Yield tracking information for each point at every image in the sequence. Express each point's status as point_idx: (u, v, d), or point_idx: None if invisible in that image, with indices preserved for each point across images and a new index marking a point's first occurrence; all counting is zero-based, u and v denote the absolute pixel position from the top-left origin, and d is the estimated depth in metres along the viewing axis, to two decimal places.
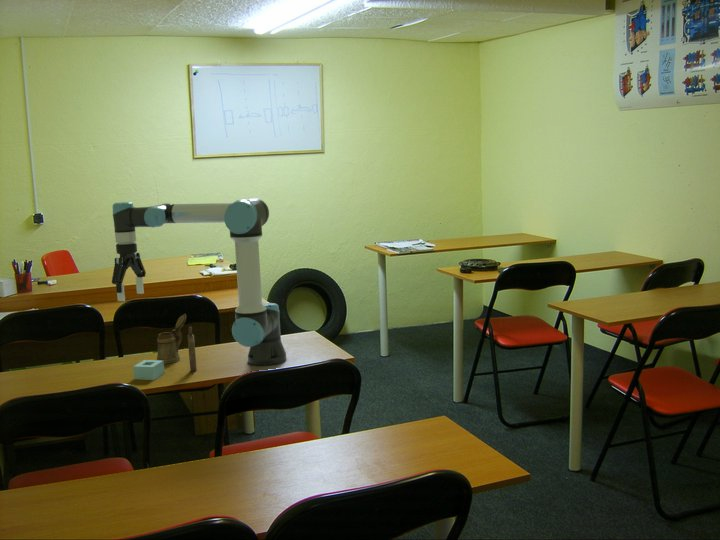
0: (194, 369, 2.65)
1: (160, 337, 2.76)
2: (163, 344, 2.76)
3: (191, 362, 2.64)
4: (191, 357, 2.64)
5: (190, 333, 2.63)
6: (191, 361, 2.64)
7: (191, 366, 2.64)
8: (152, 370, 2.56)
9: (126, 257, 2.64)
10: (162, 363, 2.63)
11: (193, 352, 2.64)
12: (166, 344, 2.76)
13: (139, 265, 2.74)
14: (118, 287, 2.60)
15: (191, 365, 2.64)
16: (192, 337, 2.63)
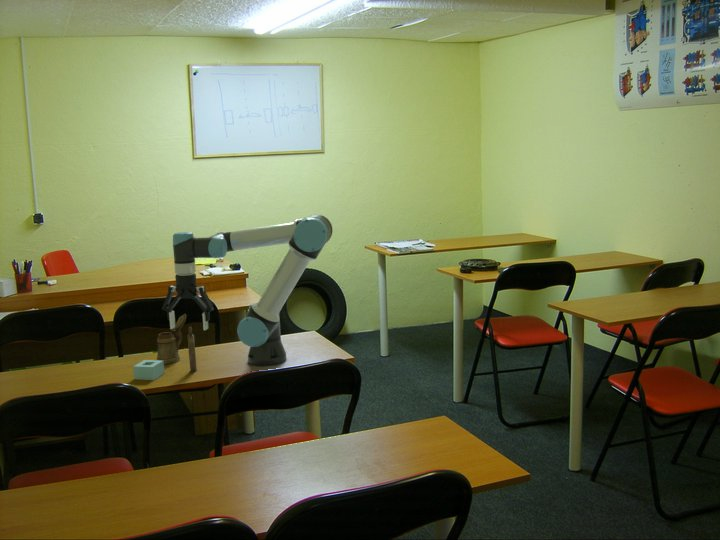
0: (194, 369, 2.65)
1: (160, 337, 2.76)
2: (163, 344, 2.76)
3: (191, 362, 2.64)
4: (191, 357, 2.64)
5: (190, 333, 2.63)
6: (191, 361, 2.64)
7: (191, 366, 2.64)
8: (152, 370, 2.56)
9: (179, 288, 2.60)
10: (162, 363, 2.63)
11: (193, 352, 2.64)
12: (166, 344, 2.76)
13: None
14: None
15: (191, 365, 2.64)
16: (192, 337, 2.63)
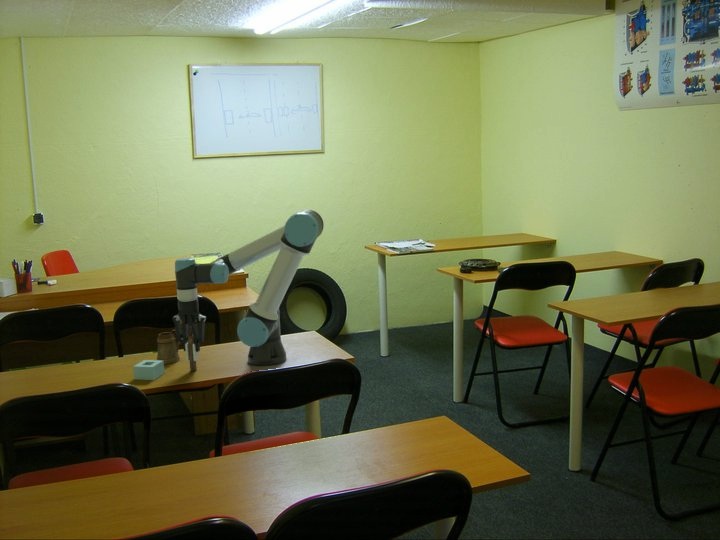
0: (194, 369, 2.65)
1: (160, 337, 2.76)
2: (163, 344, 2.76)
3: (191, 362, 2.64)
4: (191, 357, 2.64)
5: (190, 333, 2.63)
6: (191, 361, 2.64)
7: (191, 366, 2.64)
8: (152, 370, 2.56)
9: (180, 312, 2.62)
10: (162, 363, 2.63)
11: None
12: (166, 344, 2.76)
13: None
14: None
15: (191, 365, 2.64)
16: (192, 337, 2.63)
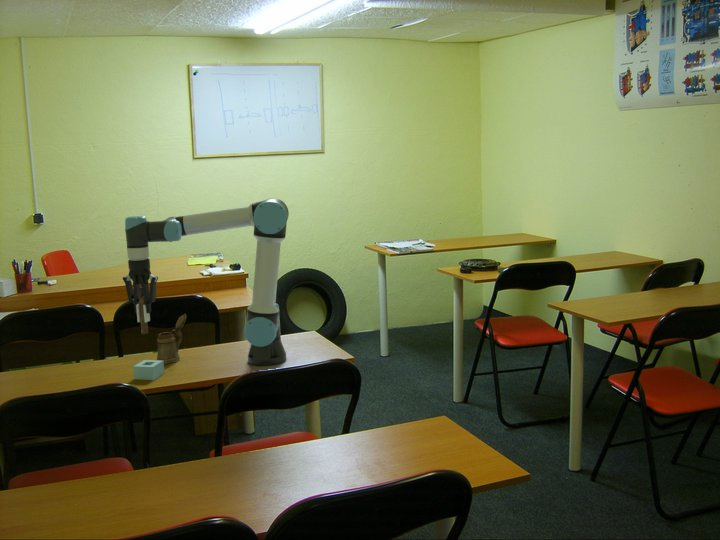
0: (145, 331, 2.57)
1: (160, 337, 2.76)
2: (163, 344, 2.76)
3: (142, 324, 2.57)
4: (142, 319, 2.56)
5: (141, 294, 2.55)
6: (142, 323, 2.57)
7: (142, 328, 2.57)
8: (152, 370, 2.56)
9: (131, 272, 2.54)
10: (162, 363, 2.63)
11: None
12: (166, 344, 2.76)
13: None
14: None
15: (142, 327, 2.57)
16: (143, 298, 2.55)
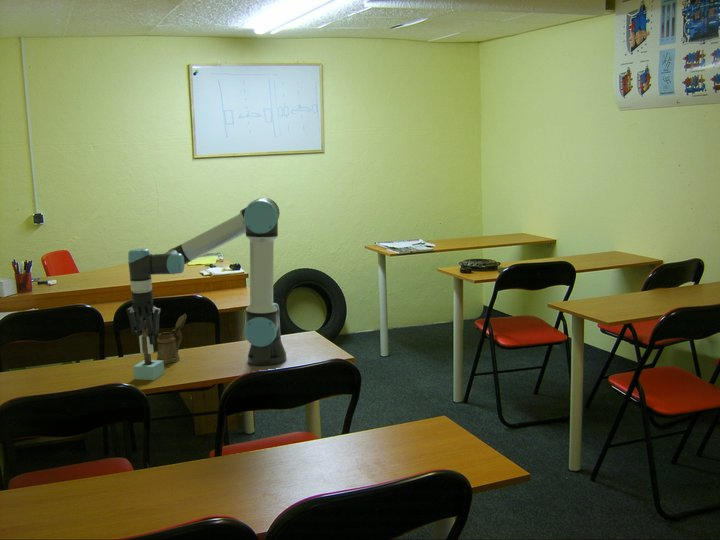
0: (149, 364, 2.59)
1: (160, 337, 2.76)
2: (163, 344, 2.76)
3: (145, 357, 2.59)
4: (145, 351, 2.58)
5: (144, 327, 2.58)
6: (145, 356, 2.59)
7: (145, 361, 2.59)
8: (152, 370, 2.56)
9: (134, 304, 2.56)
10: (162, 363, 2.63)
11: None
12: (166, 344, 2.76)
13: None
14: None
15: (145, 360, 2.59)
16: (146, 331, 2.58)
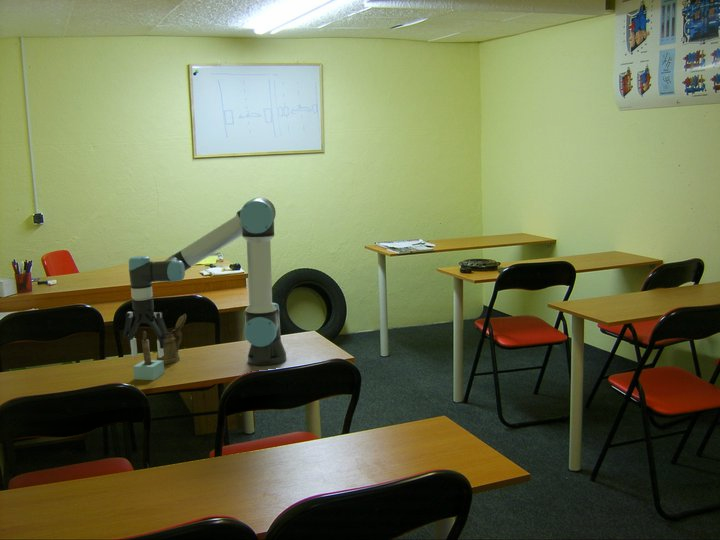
0: None
1: None
2: None
3: None
4: (146, 362, 2.59)
5: (144, 338, 2.58)
6: None
7: None
8: (152, 370, 2.56)
9: (135, 312, 2.57)
10: (162, 363, 2.63)
11: (148, 357, 2.59)
12: (166, 344, 2.76)
13: None
14: None
15: None
16: (146, 342, 2.58)
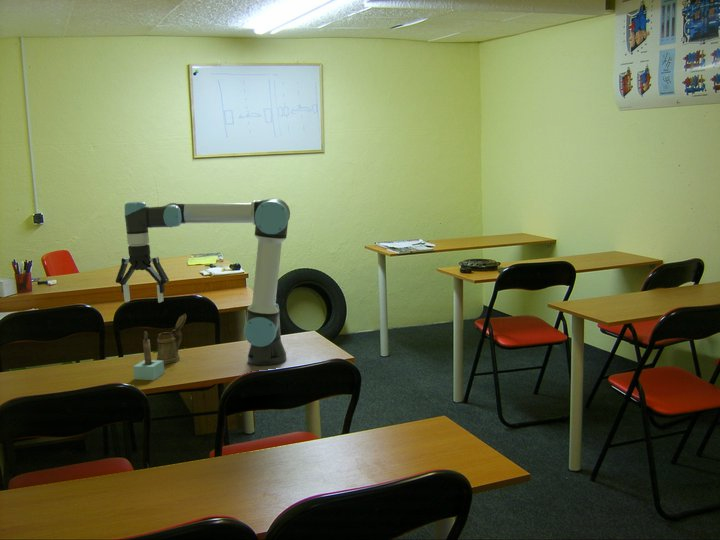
0: None
1: (160, 337, 2.76)
2: (163, 344, 2.76)
3: None
4: (147, 362, 2.59)
5: (145, 338, 2.58)
6: None
7: None
8: (152, 370, 2.56)
9: (132, 259, 2.53)
10: (162, 363, 2.63)
11: (149, 357, 2.59)
12: (166, 344, 2.76)
13: None
14: None
15: None
16: (147, 342, 2.58)
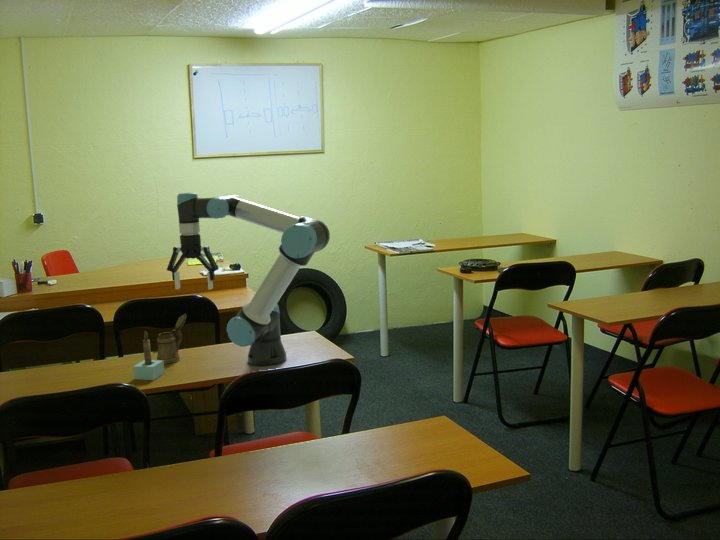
0: None
1: (160, 337, 2.76)
2: (163, 344, 2.76)
3: None
4: (147, 362, 2.59)
5: (145, 338, 2.58)
6: None
7: None
8: (152, 370, 2.56)
9: (183, 248, 2.63)
10: (162, 363, 2.63)
11: (149, 357, 2.59)
12: (166, 344, 2.76)
13: None
14: None
15: None
16: (147, 342, 2.58)
